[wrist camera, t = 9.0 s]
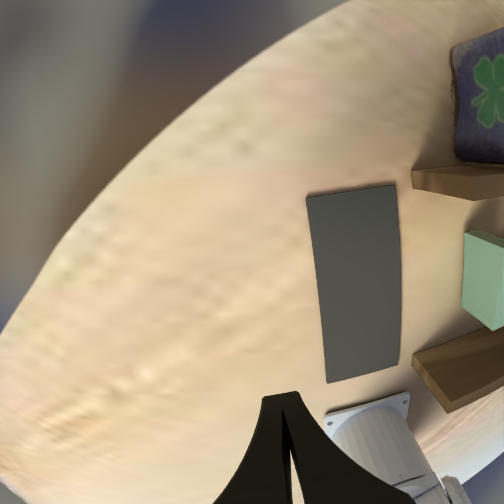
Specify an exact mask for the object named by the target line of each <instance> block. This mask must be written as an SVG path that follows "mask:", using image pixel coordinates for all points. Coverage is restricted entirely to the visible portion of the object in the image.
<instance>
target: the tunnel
mask: <svg viewBox="0 0 504 504" xmlns="http://www.w3.org/2000/svg"><path fill="white" fill-rule="evenodd" d="M411 177H412V186H413V188H414V189H419V190H424V191H429V192H434V193H439V194H444V195H448V196H453V197H458V198H462V199H466V200H471V201H476V200H483V199H489V198H495V197H502V196H504V165H501V164H476V165H463V166H451V167H441V168H430V169H421V170H411ZM412 366H413V368H414V369H415V370H416V372H417V373H418V374H419V376H420V377H421V378H422V380H423V381H424V382H425V384H426V385H427V386H428V388H429V389H430V391H431V392H432V393H433V395H434V396H435V397H436V399H437V400H438V402H439V403H440V404H441V406H442V407H443V409H444V410H445V411H446V413H447V414H449V413H451V412H453V411H455V410H457V409H460V408H462V407H464V406H466V405H468V404H470V403H472V402H474V401H476V400H478V399H480V398H482V397H484V396H486V395H488V394H490V393H491V392H493V391H495V390H497V389H499V388H500V387H502V386H504V326H502V327H500V328H498V329H496V330H494V331H492V330H491V329H490V328H488V327H487V326H486V327H484V328H481V329H479V330H477V331H474V332H472V333H469V334H467V335H464V336H462V337H459V338H457V339H454V340H451V341H449V342H446V343H443V344H440V345H438V346H435V347H432V348H429V349H426V350H423V351H420V352H417V353H414V354H413V357H412Z"/></svg>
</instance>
